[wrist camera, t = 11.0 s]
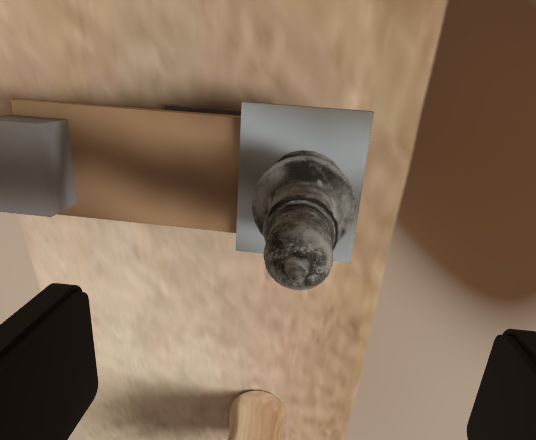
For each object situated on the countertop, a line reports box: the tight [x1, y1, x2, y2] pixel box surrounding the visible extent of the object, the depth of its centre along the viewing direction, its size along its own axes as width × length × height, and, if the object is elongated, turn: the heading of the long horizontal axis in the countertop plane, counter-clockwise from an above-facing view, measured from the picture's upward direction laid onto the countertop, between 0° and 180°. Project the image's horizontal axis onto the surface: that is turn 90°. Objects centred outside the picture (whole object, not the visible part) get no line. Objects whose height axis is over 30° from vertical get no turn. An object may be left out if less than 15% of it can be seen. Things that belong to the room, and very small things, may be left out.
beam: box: [0, 99, 374, 263], centre depth 26 cm, size 10×24×4 cm, turn 86°
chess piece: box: [252, 150, 356, 290], centre depth 19 cm, size 6×6×12 cm
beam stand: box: [165, 104, 241, 116], centre depth 30 cm, size 8×22×5 cm, turn 86°
